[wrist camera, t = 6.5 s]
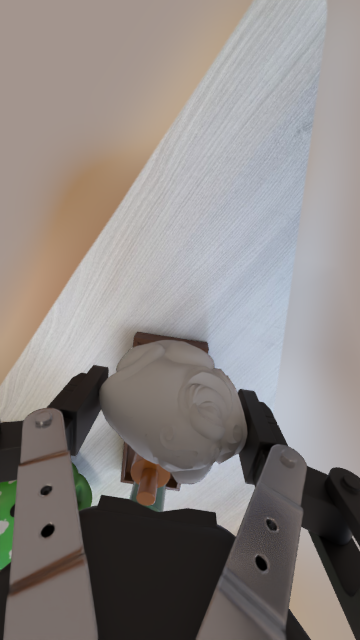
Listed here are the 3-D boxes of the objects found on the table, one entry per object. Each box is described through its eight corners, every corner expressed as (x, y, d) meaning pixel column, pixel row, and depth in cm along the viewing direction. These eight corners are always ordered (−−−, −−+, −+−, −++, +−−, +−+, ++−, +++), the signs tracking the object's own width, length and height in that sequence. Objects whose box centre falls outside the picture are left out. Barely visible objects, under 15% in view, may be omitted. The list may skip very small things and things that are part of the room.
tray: (137, 331, 34) (133, 337, 32) (207, 342, 34) (208, 348, 32) (123, 470, 43) (120, 482, 41) (179, 479, 43) (179, 491, 41)
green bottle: (156, 443, 39) (142, 525, 28) (174, 462, 41) (167, 548, 29) (133, 455, 41) (110, 539, 29) (151, 474, 42) (136, 561, 30)
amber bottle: (162, 403, 37) (149, 476, 25) (181, 425, 38) (176, 504, 27) (137, 418, 38) (114, 494, 27) (157, 438, 39) (142, 520, 28)
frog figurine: (213, 413, 17) (229, 527, 10) (115, 391, 16) (64, 492, 10) (240, 334, 15) (283, 410, 8) (130, 308, 14) (79, 364, 8)
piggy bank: (109, 481, 44) (69, 598, 29) (32, 507, 47) (-37, 623, 33) (64, 424, 40) (-6, 526, 26) (-16, 457, 43) (-117, 563, 29)
